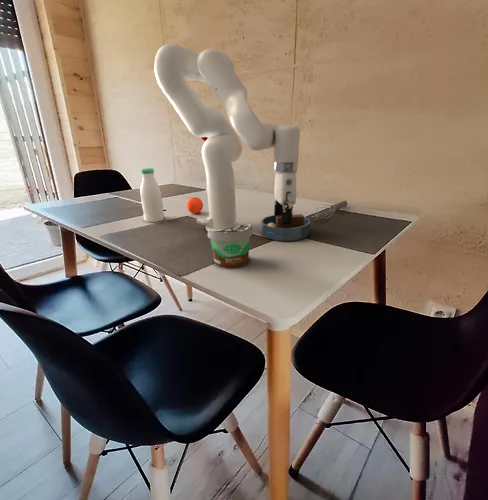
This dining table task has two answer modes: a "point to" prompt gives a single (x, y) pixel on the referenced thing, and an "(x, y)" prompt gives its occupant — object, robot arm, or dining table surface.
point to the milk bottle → (151, 197)
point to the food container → (230, 246)
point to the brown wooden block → (296, 221)
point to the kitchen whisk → (332, 208)
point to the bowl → (284, 230)
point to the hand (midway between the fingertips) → (282, 219)
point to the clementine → (194, 205)
